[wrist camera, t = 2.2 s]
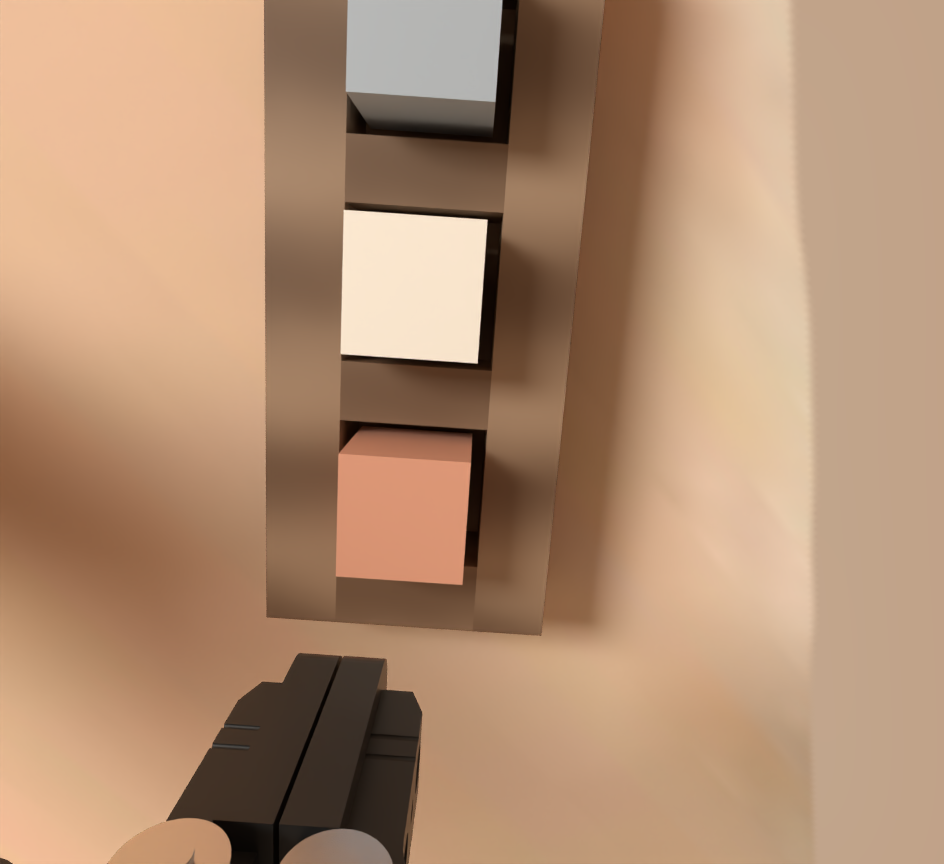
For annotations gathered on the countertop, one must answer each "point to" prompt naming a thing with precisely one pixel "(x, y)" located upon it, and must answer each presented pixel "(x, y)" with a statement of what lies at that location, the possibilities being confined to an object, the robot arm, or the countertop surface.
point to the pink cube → (403, 505)
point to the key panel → (413, 380)
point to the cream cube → (412, 286)
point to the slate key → (424, 64)
